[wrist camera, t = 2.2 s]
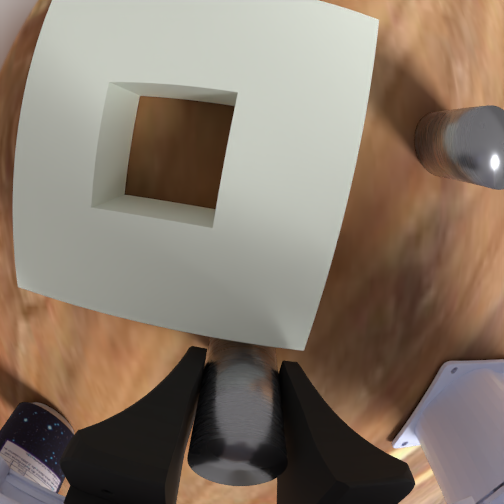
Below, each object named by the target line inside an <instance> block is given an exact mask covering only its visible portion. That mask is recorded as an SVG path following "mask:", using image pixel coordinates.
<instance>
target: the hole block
mask: <svg viewBox="0 0 504 504" xmlns="http://www.w3.org/2000/svg"><path fill="white" fill-rule="evenodd" d="M378 25H379V20H378V19H375V18H373V17H370V16H367V15H364V14H361V13H359V12H356V11H353V10H350V9H346V8H343V7H340V6H337V5H333V4H330V3H326V2H322V1H319V0H52V2H51V4H50V7H49V9H48V12H47V15H46V17H45V20H44V23H43V26H42V29H41V32H40V35H39V38H38V41H37V44H36V48H35V51H34V54H33V58H32V62H31V65H30V69H29V73H28V78H27V82H26V86H25V91H24V96H23V101H22V107H21V113H20V119H19V125H18V133H17V141H16V150H15V162H14V177H13V238H14V254H15V265H16V275H17V283H18V287H20V288H23V289H26V290H29V291H32V292H35V293H38V294H41V295H44V296H47V297H50V298H53V299H57V300H60V301H63V302H66V303H70V304H73V305H77V306H80V307H84V308H87V309H91V310H94V311H98V312H102V313H105V314H109V315H113V316H117V317H121V318H125V319H129V320H133V321H137V322H142V323H146V324H150V325H155V326H159V327H164V328H168V329H173V330H178V331H183V332H188V333H193V334H198V335H203V336H209V337H214V338H220V339H226V340H231V341H237V342H244V343H250V344H257V345H264V346H271V347H278V348H286V349H294V350H302V351H304V349H305V346H306V343H307V340H308V337H309V334H310V331H311V328H312V325H313V322H314V319H315V315H316V312H317V309H318V306H319V303H320V299H321V296H322V293H323V290H324V286H325V283H326V279H327V276H328V273H329V269H330V266H331V262H332V259H333V255H334V251H335V248H336V244H337V240H338V237H339V233H340V229H341V225H342V221H343V217H344V213H345V209H346V205H347V201H348V197H349V192H350V188H351V184H352V179H353V175H354V170H355V166H356V161H357V156H358V152H359V147H360V142H361V137H362V131H363V126H364V121H365V115H366V110H367V104H368V98H369V92H370V86H371V79H372V72H373V65H374V58H375V50H376V42H377V34H378ZM140 96H150V97H163V98H175V99H185V100H194V101H202V102H210V103H217V104H224V105H231V106H235V109H234V114H233V119H232V124H231V129H230V134H229V139H228V144H227V149H226V155H225V160H224V165H223V171H222V176H221V182H220V188H219V193H218V199H217V205H216V209H211V208H205V207H199V206H193V205H187V204H181V203H175V202H169V201H163V200H157V199H151V198H144V197H138V196H131V195H125V186H126V177H127V169H128V162H129V155H130V148H131V142H132V135H133V130H134V124H135V118H136V113H137V108H138V103H139V98H140Z"/></svg>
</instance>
